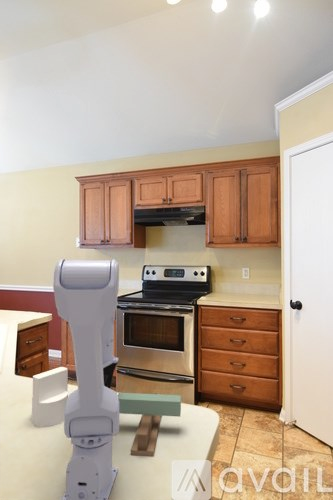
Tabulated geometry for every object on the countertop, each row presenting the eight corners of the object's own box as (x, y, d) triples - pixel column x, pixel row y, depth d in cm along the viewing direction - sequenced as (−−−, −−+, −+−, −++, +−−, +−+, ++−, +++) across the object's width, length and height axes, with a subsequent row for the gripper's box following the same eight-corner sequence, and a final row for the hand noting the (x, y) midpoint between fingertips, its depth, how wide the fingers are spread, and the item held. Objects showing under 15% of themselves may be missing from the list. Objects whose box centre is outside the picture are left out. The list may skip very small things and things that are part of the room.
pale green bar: (115, 413, 75) (115, 398, 75) (118, 406, 78) (118, 392, 79) (180, 416, 74) (180, 401, 74) (180, 409, 77) (180, 395, 77)
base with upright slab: (43, 431, 75) (44, 382, 75) (25, 419, 80) (25, 373, 81) (74, 416, 82) (75, 371, 82) (55, 405, 88) (56, 364, 88)
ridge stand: (153, 456, 66) (153, 435, 66) (130, 454, 66) (130, 433, 66) (162, 409, 86) (162, 393, 86) (145, 408, 86) (145, 392, 86)
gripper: (109, 349, 66) (109, 413, 66) (124, 332, 80) (124, 384, 80) (78, 348, 66) (77, 411, 66) (98, 332, 81) (98, 383, 81)
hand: (101, 396), depth 73 cm, fingers open, 7 cm apart
